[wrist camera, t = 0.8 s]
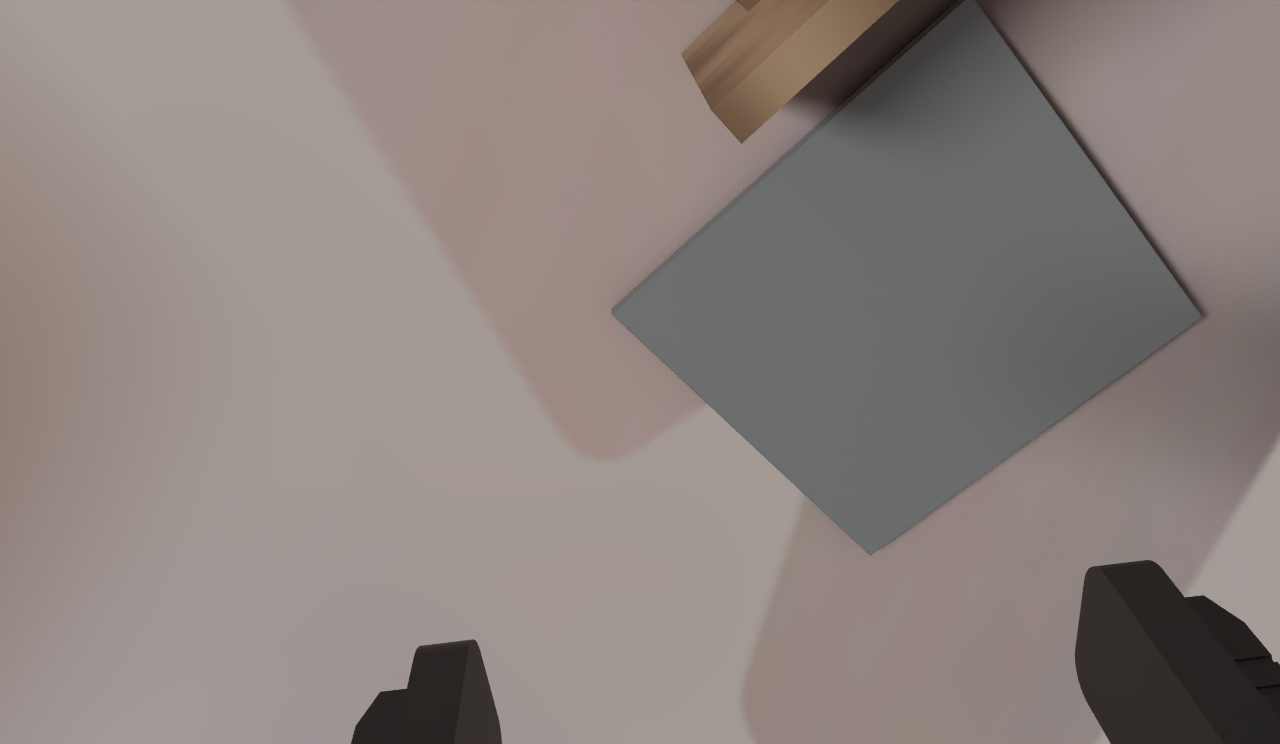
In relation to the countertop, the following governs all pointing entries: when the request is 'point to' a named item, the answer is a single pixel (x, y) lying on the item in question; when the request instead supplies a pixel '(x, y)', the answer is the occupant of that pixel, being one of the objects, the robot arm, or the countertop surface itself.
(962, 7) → the mat
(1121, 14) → the countertop surface
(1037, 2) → the countertop surface
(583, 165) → the countertop surface
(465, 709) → the robot arm
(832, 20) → the rack
